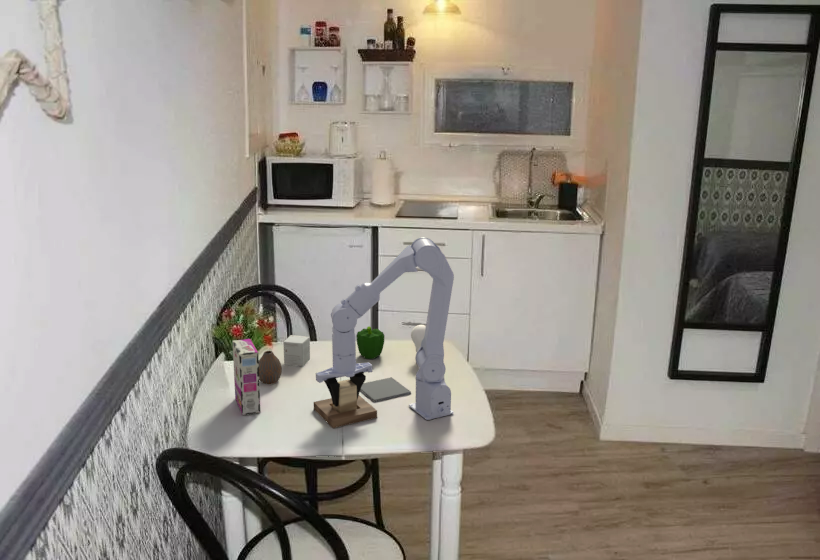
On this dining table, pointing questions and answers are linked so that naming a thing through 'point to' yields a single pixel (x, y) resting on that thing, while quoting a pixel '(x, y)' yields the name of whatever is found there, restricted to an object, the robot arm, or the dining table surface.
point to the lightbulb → (418, 335)
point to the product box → (296, 350)
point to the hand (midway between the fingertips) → (344, 402)
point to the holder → (345, 413)
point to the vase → (269, 368)
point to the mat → (384, 389)
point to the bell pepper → (370, 342)
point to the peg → (347, 396)
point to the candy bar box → (246, 376)
